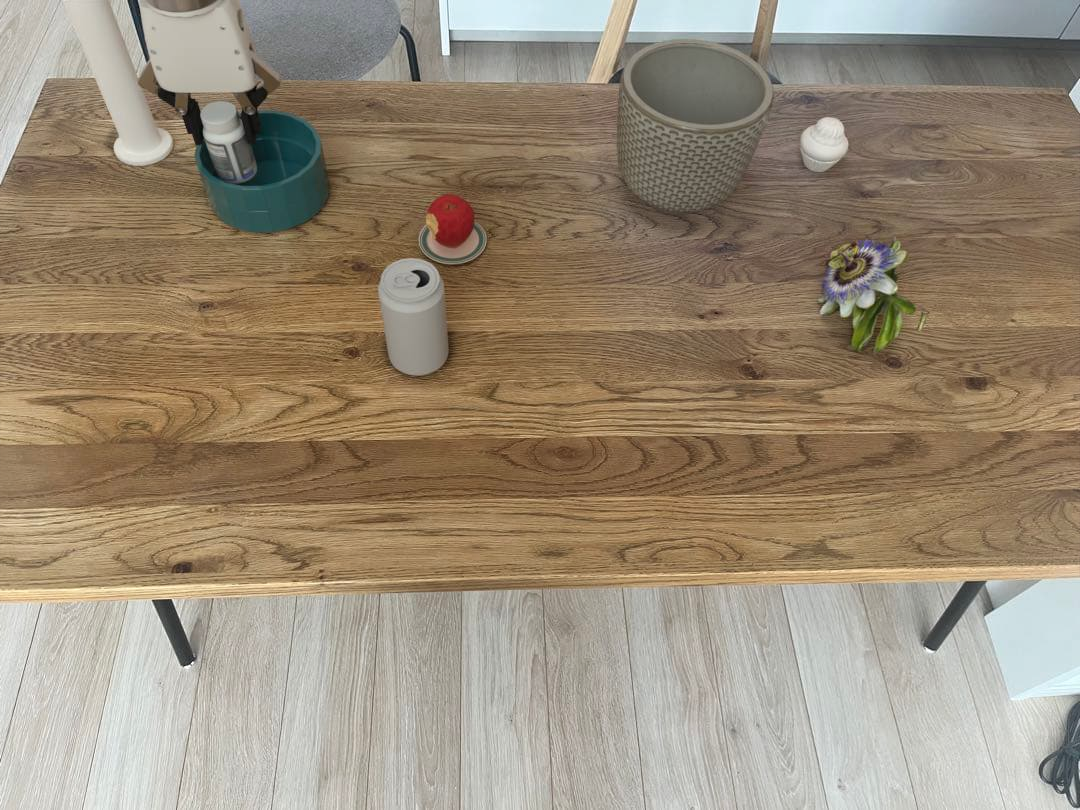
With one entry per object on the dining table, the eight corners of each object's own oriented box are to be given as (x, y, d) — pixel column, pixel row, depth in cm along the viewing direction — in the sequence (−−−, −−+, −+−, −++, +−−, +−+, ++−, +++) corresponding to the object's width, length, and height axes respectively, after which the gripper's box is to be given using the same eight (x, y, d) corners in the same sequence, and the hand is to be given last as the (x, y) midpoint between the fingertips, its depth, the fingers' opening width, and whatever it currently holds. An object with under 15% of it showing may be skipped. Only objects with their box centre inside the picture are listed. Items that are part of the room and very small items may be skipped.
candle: (114, 169, 108) (26, -29, 87) (116, 133, 111) (32, -64, 91) (173, 163, 109) (100, -35, 88) (173, 127, 113) (103, -69, 92)
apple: (470, 274, 100) (469, 233, 95) (407, 255, 101) (403, 213, 96) (496, 230, 104) (496, 187, 99) (435, 212, 106) (432, 169, 100)
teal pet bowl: (203, 236, 102) (186, 190, 96) (219, 157, 110) (204, 110, 104) (326, 234, 103) (316, 188, 97) (333, 156, 111) (324, 109, 105)
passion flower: (810, 334, 104) (814, 233, 101) (906, 332, 103) (914, 229, 99) (824, 360, 94) (829, 249, 90) (931, 359, 92) (941, 245, 88)
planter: (690, 262, 103) (719, 152, 90) (577, 194, 109) (589, 81, 96) (767, 191, 111) (804, 81, 98) (658, 131, 117) (679, 20, 104)
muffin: (847, 164, 115) (866, 119, 109) (824, 186, 112) (842, 142, 106) (807, 143, 117) (824, 98, 111) (783, 164, 114) (799, 119, 108)
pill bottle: (252, 154, 105) (234, 94, 98) (262, 178, 102) (245, 118, 96) (212, 164, 104) (192, 104, 97) (222, 189, 101) (201, 129, 94)
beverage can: (454, 373, 92) (450, 296, 82) (394, 385, 90) (383, 308, 81) (441, 328, 95) (435, 249, 85) (383, 339, 94) (371, 260, 84)
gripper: (275, -37, 87) (305, 116, 102) (98, -39, 86) (155, 117, 100) (267, 4, 83) (300, 158, 98) (81, 3, 81) (143, 159, 96)
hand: (226, 136), depth 99 cm, fingers open, 5 cm apart
